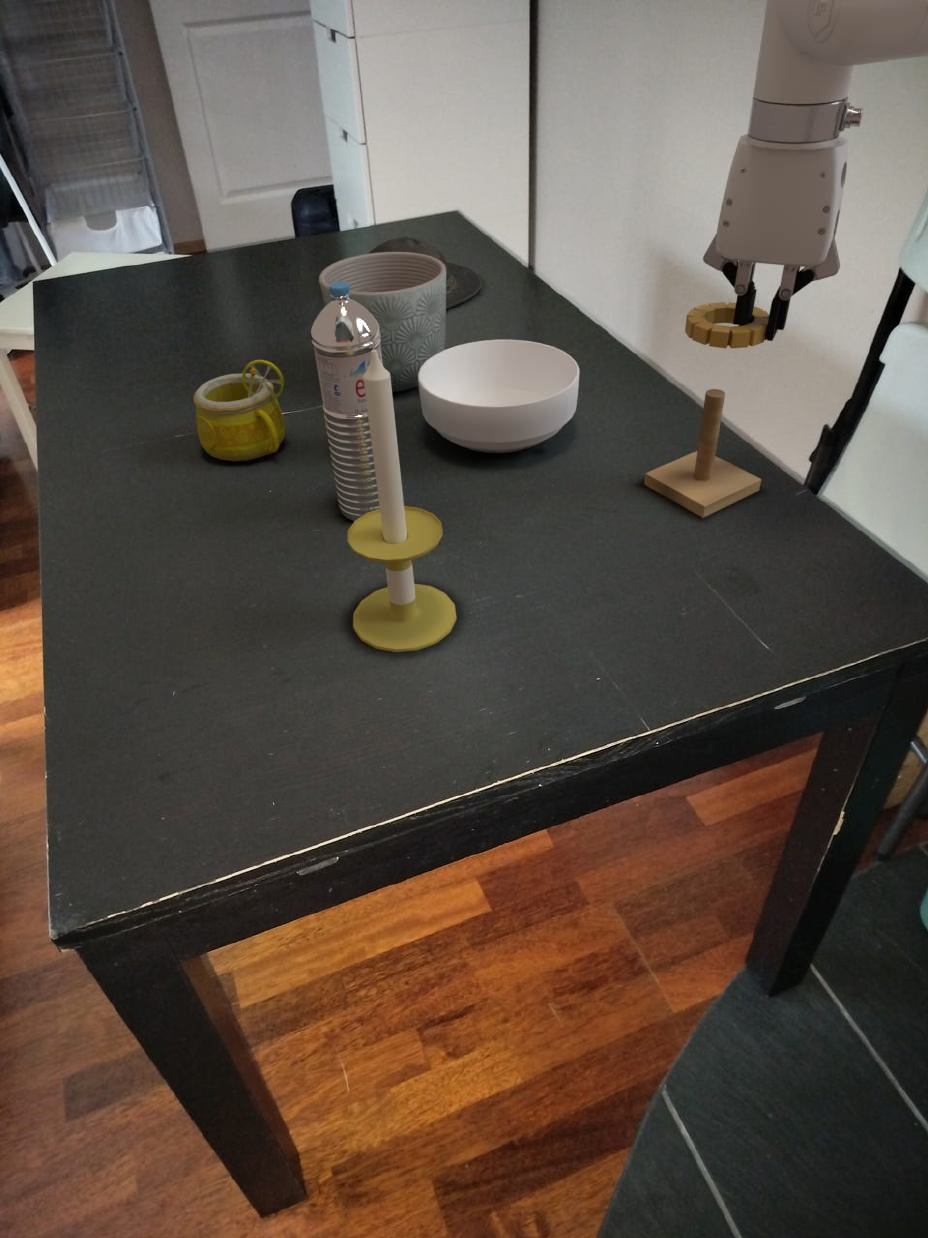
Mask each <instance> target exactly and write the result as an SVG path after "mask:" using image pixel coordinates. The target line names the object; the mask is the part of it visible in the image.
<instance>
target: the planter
mask: <svg viewBox="0 0 928 1238" xmlns="http://www.w3.org/2000/svg"><path fill="white" fill-rule="evenodd" d="M335 282H346V283H348V284H349V289H350V290H349V292H350V295H349V298H350V299H352V300H354V301H356V302H358V303H359V304H361V305H362V306H363V307H365V308H366V309H367V310H368V311H369V312H370V313H371V314H372V315H373V316H374V318H375V319H376V320H377V322H378V323H379V326H380V333H381V341H380V345H381V353H382V362H383V367H384V368H385V369H386V370H387V371H388V372H390V377H391V387H392V393H398V392H405V391H408V390H413V389H415V388H417V387H419V383H418V373H419V371H420V368H421V366H422V365H423V364H424V363H425V362H426V361H427V360H428V359H430V358H431V357H432V356H434V355H436V354H438V353H440V352H442V351H444V350H446V349H445V348H446V333H447V331H446V329H447V328H446V327H447V326H446V322H447V320H446V319H447V309H446V267H445V265H444V264H443V263H442V262H441V261H440V260H438V259H436V258H434V257H431V256H428V255H424V254H418V253H410V252H381V253H371V254H368V253H365V254H359V255H355V256H350V257H347V258H344V259H341V260H338V261H336V262H334V263H332V264H330V265H328V266H326V267H325V268H324V269H323V270H322V271H321V272H320V274H319V276H318V283H319V288H320V292H321V296H322V301H323V305H324V306H323V307H325V306H326V305H327V304H328V303H329V302H331V301H332V300H333V299H332V297H331V292H330V289H329V286H330V285H331V284H332V283H335Z"/></svg>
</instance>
